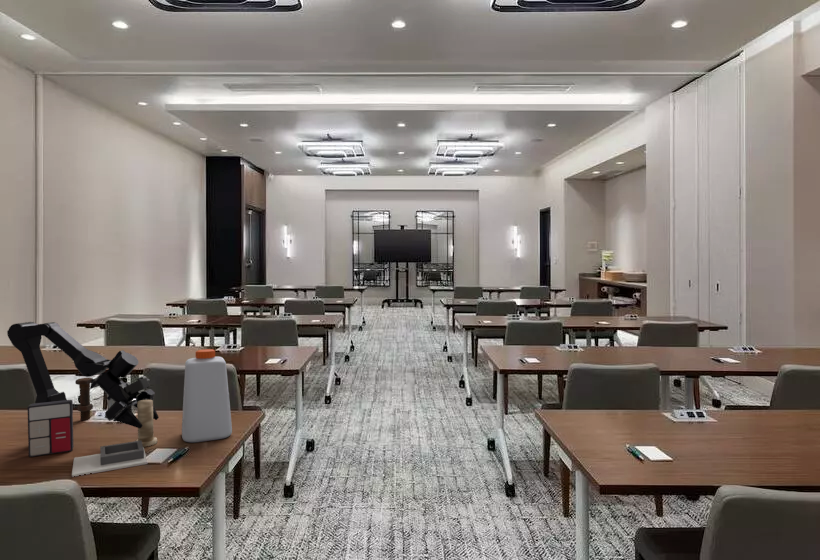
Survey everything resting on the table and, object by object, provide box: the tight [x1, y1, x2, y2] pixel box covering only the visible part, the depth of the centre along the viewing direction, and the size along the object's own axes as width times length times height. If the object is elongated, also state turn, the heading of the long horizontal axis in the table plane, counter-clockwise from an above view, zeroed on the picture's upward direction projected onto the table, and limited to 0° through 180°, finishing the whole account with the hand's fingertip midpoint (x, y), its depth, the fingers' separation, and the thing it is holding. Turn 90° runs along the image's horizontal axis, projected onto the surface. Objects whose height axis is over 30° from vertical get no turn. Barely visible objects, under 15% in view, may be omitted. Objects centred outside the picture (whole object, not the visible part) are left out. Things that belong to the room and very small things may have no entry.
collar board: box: [71, 440, 148, 478], centre depth 153 cm, size 18×15×3 cm
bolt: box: [75, 377, 94, 421], centre depth 197 cm, size 6×5×15 cm
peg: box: [134, 399, 158, 448], centre depth 169 cm, size 6×6×13 cm
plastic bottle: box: [181, 348, 233, 444], centre depth 177 cm, size 15×15×28 cm
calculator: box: [26, 399, 74, 458], centre depth 161 cm, size 11×4×15 cm, turn 117°
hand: (149, 422), depth 169 cm, fingers open, 9 cm apart
